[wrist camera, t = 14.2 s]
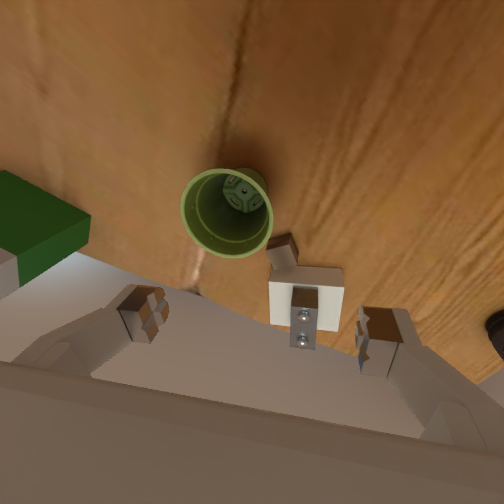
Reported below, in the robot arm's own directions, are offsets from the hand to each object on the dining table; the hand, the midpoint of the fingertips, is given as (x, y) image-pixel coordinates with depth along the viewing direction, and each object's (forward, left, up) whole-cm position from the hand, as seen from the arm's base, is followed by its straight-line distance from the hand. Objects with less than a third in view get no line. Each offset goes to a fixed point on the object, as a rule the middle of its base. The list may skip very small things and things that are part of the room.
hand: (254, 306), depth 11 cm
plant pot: (+8, +5, -31) cm, 33 cm away
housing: (-2, +24, -26) cm, 35 cm away
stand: (-2, +24, -31) cm, 39 cm away
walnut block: (+2, +15, -31) cm, 35 cm away
